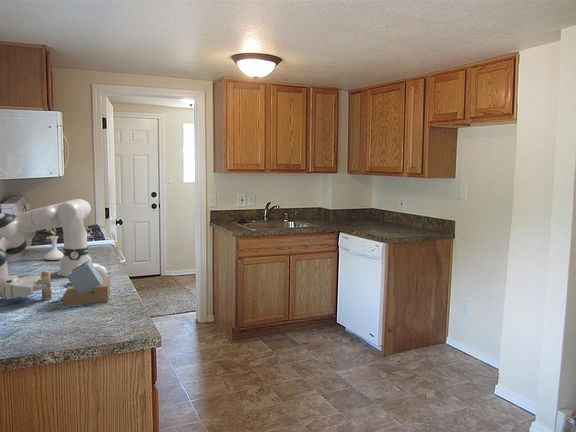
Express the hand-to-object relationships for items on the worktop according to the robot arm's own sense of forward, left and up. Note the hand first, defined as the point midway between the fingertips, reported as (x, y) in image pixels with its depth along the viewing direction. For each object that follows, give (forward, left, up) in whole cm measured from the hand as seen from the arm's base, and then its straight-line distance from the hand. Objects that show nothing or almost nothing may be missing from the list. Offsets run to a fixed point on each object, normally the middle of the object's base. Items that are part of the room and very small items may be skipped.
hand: (48, 284), depth 200 cm
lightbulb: (-13, +19, -7) cm, 24 cm away
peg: (0, -1, -7) cm, 7 cm away
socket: (+3, +16, -6) cm, 17 cm away
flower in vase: (-87, -12, -7) cm, 88 cm away
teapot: (-28, +13, -7) cm, 32 cm away
